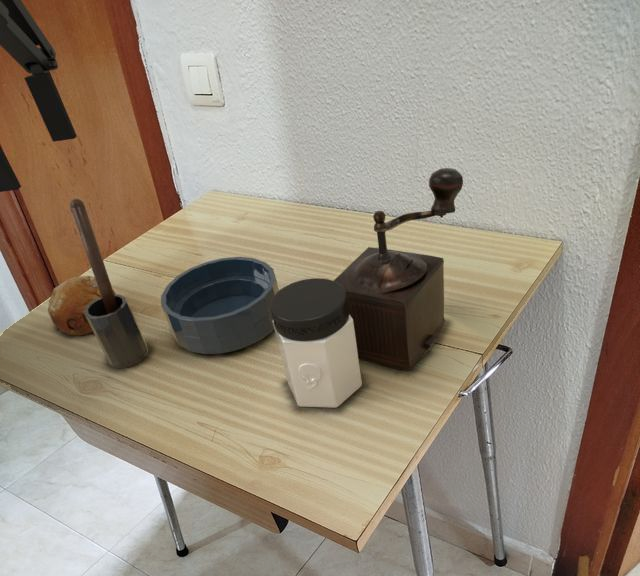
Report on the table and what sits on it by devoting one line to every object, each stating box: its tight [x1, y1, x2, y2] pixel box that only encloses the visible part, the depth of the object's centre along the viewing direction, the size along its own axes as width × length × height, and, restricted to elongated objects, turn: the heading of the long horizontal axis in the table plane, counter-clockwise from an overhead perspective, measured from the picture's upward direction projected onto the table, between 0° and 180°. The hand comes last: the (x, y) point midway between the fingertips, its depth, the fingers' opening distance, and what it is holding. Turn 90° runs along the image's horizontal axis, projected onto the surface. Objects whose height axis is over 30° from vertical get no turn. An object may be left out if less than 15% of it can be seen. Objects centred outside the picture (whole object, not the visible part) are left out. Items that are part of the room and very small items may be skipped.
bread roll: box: [47, 275, 116, 336], centre depth 88 cm, size 10×10×8 cm
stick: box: [69, 198, 119, 314], centre depth 74 cm, size 2×2×20 cm
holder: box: [84, 293, 149, 369], centre depth 77 cm, size 5×6×8 cm
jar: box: [270, 277, 363, 409], centre depth 65 cm, size 9×8×12 cm
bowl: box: [160, 256, 280, 355], centre depth 80 cm, size 15×15×6 cm
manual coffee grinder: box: [333, 167, 464, 371], centre depth 69 cm, size 16×11×18 cm
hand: (38, 162), depth 62 cm, fingers open, 13 cm apart
